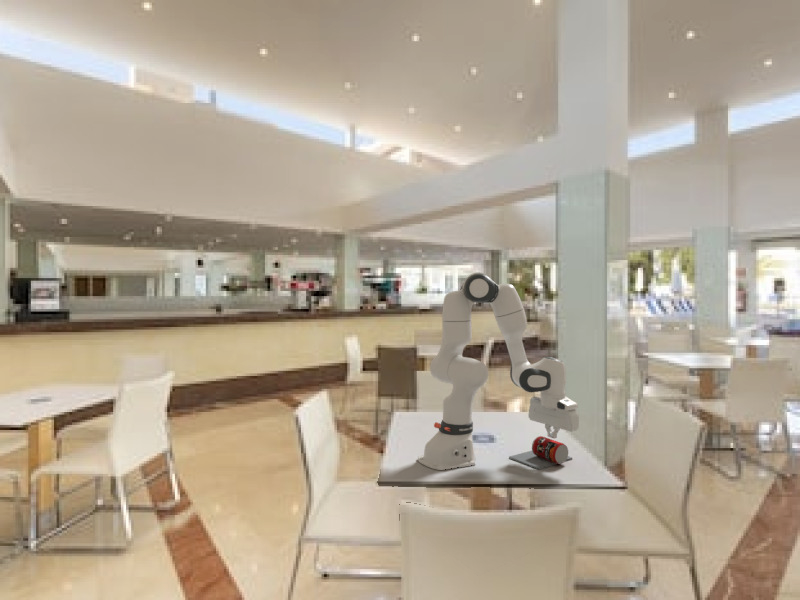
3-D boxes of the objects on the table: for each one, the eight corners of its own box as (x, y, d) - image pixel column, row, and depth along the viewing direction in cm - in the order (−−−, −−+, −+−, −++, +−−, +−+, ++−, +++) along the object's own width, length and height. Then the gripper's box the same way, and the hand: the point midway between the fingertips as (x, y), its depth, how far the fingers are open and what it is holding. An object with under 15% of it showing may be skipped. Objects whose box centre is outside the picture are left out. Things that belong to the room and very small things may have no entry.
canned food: (553, 464, 170) (530, 455, 179) (567, 464, 174) (544, 455, 183) (556, 443, 170) (533, 435, 180) (570, 444, 175) (547, 436, 184)
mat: (538, 469, 168) (538, 468, 168) (508, 458, 180) (508, 456, 180) (572, 459, 180) (572, 457, 180) (542, 449, 191) (542, 447, 191)
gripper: (525, 396, 182) (524, 431, 182) (571, 407, 165) (570, 446, 165) (535, 394, 186) (535, 429, 186) (581, 405, 169) (581, 443, 169)
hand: (552, 437), depth 176 cm, fingers closed
